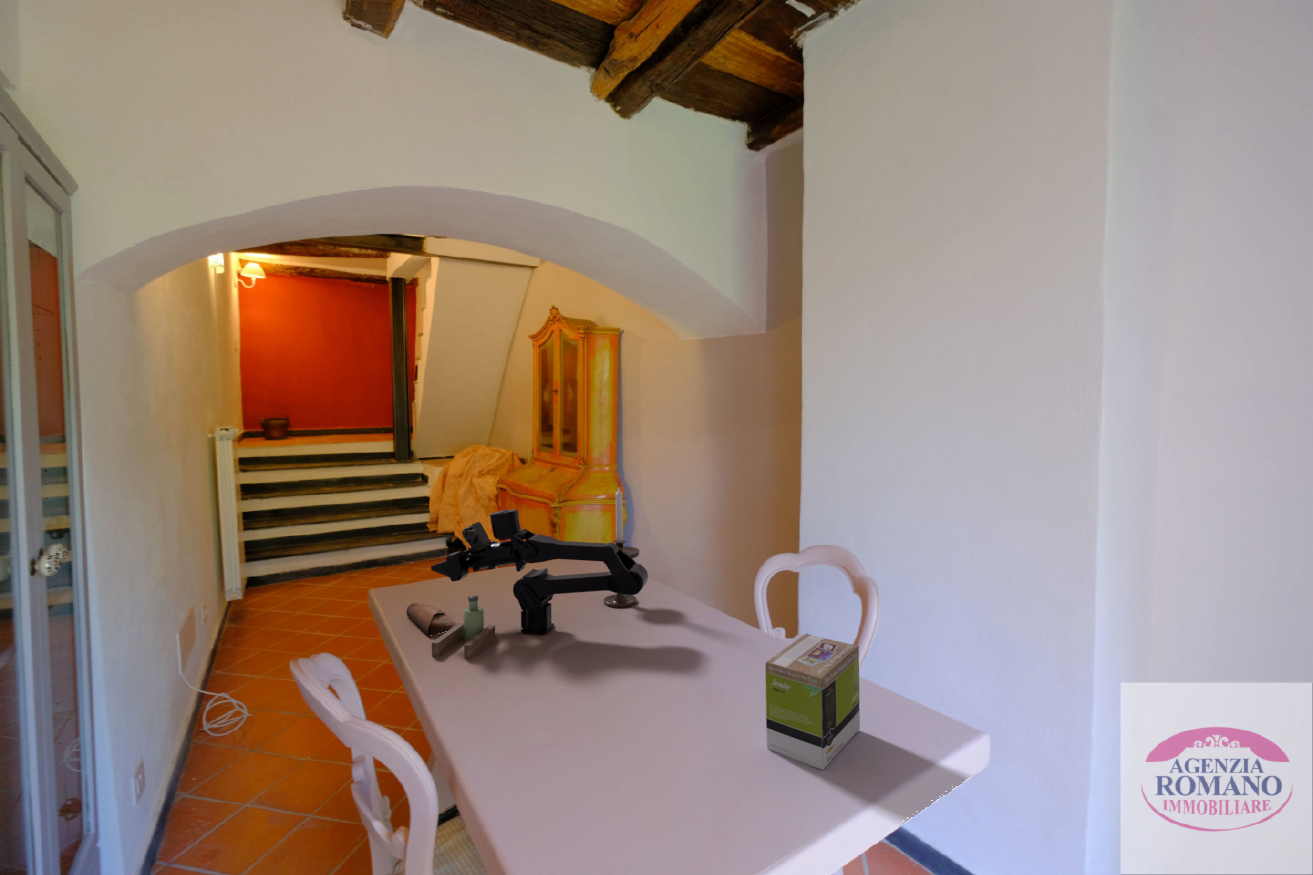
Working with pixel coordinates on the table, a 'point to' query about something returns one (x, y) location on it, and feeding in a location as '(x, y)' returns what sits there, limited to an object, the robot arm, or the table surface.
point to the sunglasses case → (430, 618)
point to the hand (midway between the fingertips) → (441, 563)
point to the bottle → (473, 619)
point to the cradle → (458, 633)
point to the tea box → (812, 699)
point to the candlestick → (621, 599)
